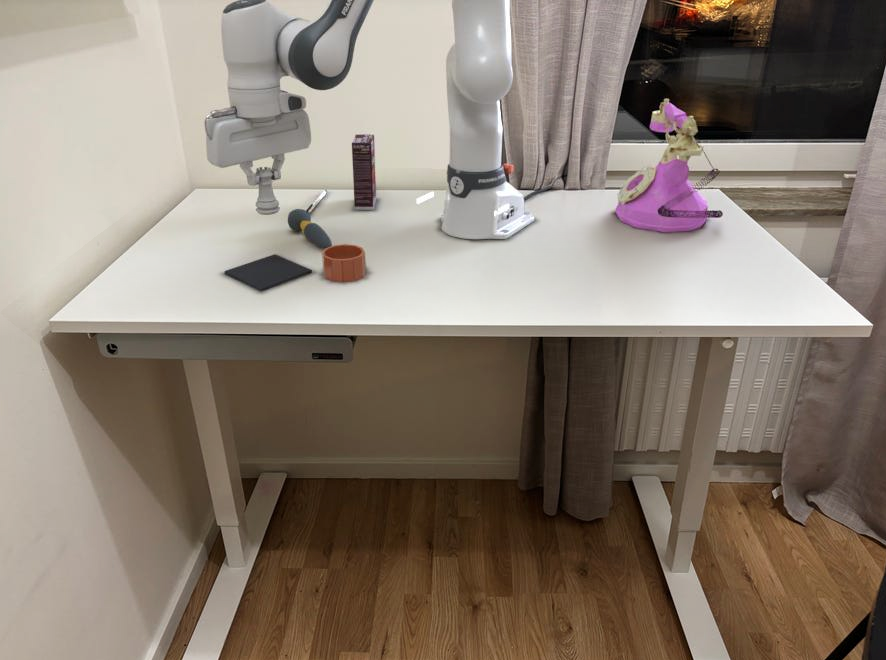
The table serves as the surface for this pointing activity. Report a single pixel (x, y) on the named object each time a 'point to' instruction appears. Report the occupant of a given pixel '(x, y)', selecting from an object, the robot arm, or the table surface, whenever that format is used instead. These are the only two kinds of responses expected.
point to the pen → (316, 202)
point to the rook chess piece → (266, 193)
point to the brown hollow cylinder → (344, 263)
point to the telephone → (667, 181)
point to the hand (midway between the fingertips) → (264, 181)
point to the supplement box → (364, 172)
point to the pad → (267, 272)
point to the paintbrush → (308, 228)
